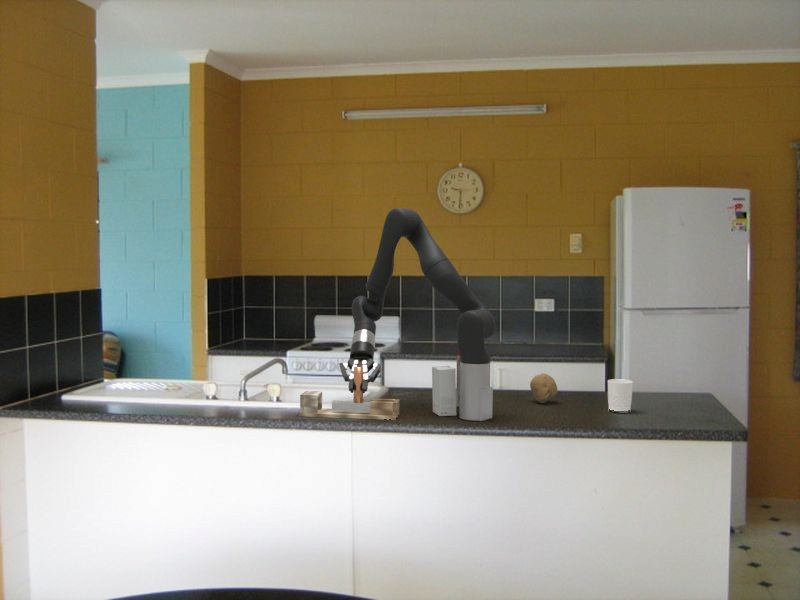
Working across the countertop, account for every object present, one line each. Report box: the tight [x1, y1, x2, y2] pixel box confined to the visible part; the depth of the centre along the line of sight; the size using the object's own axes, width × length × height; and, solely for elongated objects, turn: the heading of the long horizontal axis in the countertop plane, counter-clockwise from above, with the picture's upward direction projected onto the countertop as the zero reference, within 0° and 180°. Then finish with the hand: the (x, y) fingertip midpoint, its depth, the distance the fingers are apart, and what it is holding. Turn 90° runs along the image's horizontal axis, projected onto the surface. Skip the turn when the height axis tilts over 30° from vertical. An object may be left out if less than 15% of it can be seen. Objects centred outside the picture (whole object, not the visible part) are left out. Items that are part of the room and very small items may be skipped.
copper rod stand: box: [331, 366, 371, 413], centre depth 250 cm, size 16×3×14 cm, turn 82°
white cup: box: [607, 378, 634, 411], centre depth 261 cm, size 8×8×10 cm
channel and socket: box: [298, 390, 400, 421], centre depth 251 cm, size 30×8×7 cm, turn 82°
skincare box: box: [431, 365, 457, 417], centre depth 255 cm, size 8×6×15 cm
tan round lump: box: [529, 373, 558, 403], centre depth 275 cm, size 9×9×10 cm
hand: (357, 391), depth 248 cm, fingers closed on copper rod stand, 3 cm apart
